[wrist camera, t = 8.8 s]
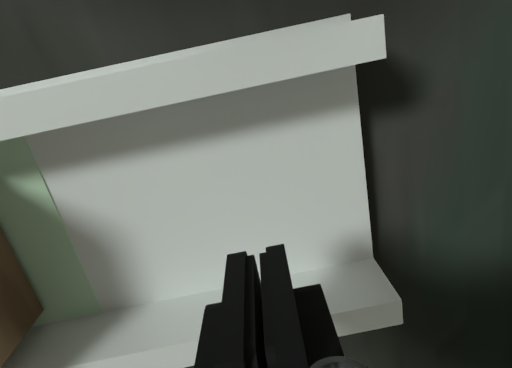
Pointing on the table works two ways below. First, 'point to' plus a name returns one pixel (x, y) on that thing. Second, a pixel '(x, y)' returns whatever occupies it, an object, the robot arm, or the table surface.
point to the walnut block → (14, 301)
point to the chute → (189, 191)
